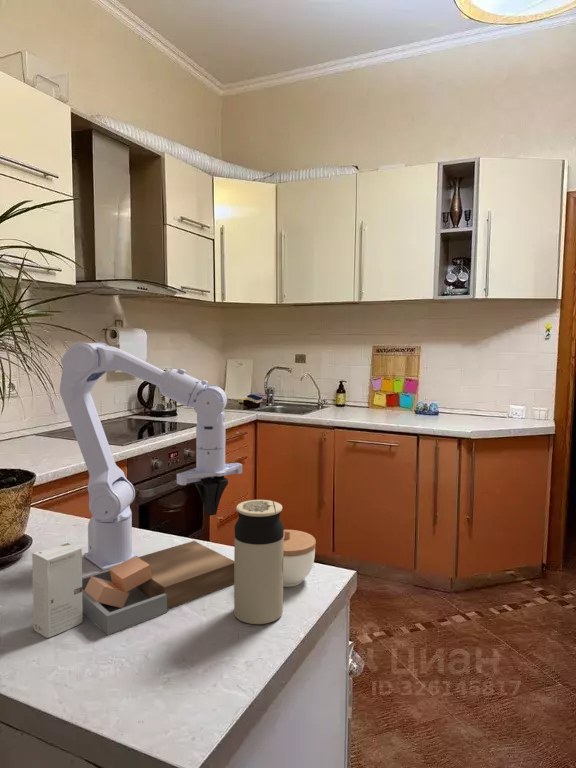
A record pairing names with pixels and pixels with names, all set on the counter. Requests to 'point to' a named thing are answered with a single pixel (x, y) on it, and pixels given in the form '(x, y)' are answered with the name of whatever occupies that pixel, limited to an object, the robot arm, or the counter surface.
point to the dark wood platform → (186, 573)
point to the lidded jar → (297, 556)
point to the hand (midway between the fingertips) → (210, 513)
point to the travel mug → (258, 562)
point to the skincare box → (57, 589)
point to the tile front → (106, 592)
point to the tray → (121, 618)
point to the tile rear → (130, 573)
